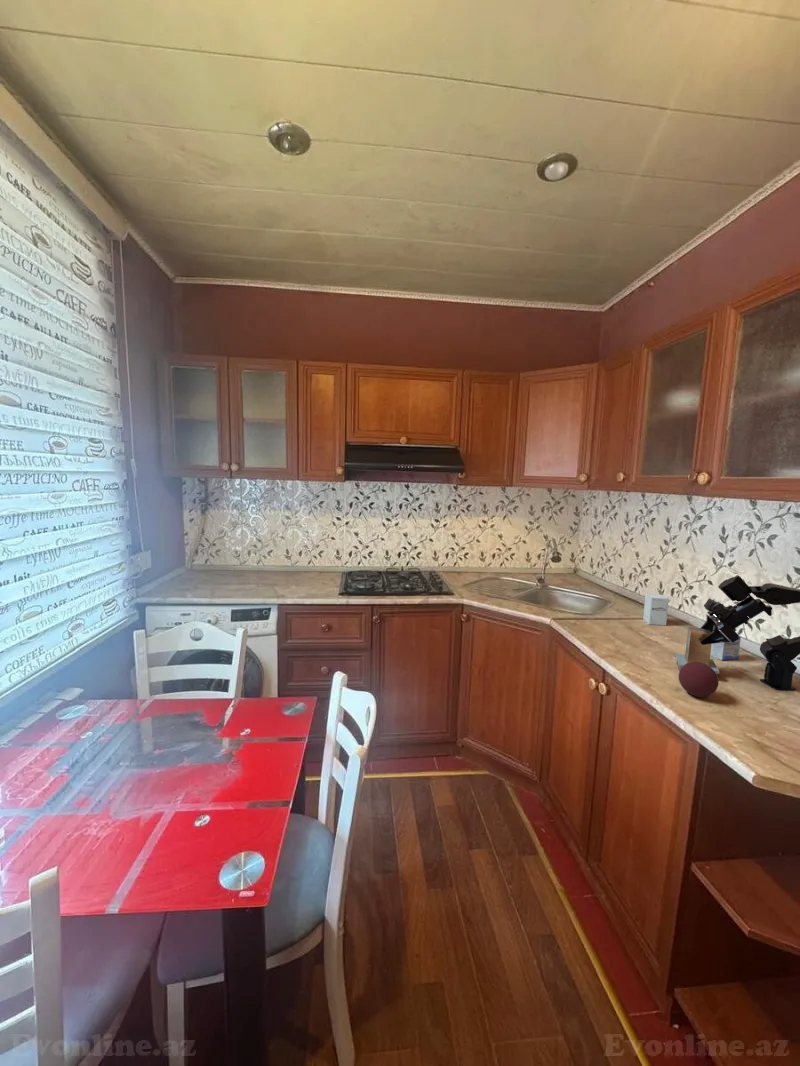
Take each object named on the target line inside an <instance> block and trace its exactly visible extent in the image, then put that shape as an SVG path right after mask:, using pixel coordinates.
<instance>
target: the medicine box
mask: <svg viewBox="0 0 800 1066" xmlns="http://www.w3.org/2000/svg"><path fill="white" fill-rule="evenodd" d="M729 641H730V640H729ZM740 645H741V636H740V635H739V637H738V640H736V641H735V642H733V643H732V642H731V641H730V642H723V643H713V644H711V652H710V657H712V658H714V657H715V658H714V659H716V660H717V659H718V660H719V659H720V661H722V660H724V661H729V660H730V659H732V660H738V659H739V655H740V654H739V653H740Z"/></svg>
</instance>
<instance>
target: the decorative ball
mask: <svg viewBox="0 0 800 1066" xmlns="http://www.w3.org/2000/svg"><path fill="white" fill-rule="evenodd" d="M678 671H679V670H678ZM678 681H679V684H680V686H681V687H682V688H683V689H684V690H685V691H686V692H687V693H688V694H691V695H692V696H695V697H698V698H699V697H701V698H703V697H704V698H705V697H709V696H711V695H712V694H714V693H715V692H716V691H717V689H718V688H719V676H718V674H716V673H715V671H714V670H713V669H712V668H711V667H710V666H708V665H706V664H704V663H701V662H690V663H687V664H685V665H684V666H683V667H682V668H681V669H680V671H679V672H678Z"/></svg>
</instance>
